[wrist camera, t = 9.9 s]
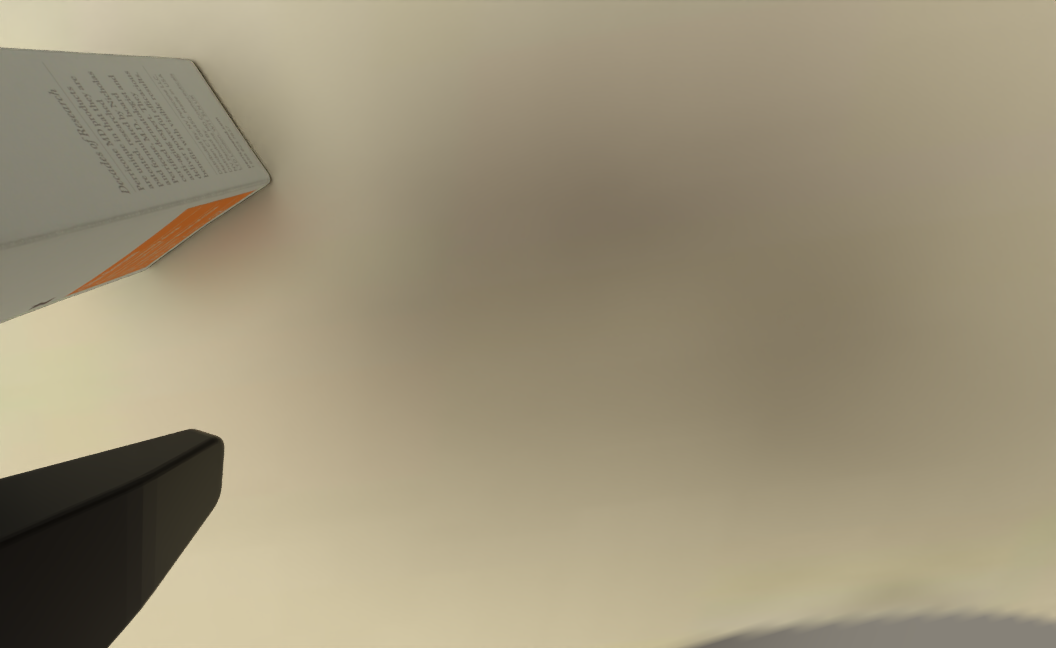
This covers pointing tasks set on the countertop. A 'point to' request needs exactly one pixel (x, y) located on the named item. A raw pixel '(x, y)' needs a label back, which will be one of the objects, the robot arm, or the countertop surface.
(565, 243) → the countertop surface
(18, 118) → the skincare box
